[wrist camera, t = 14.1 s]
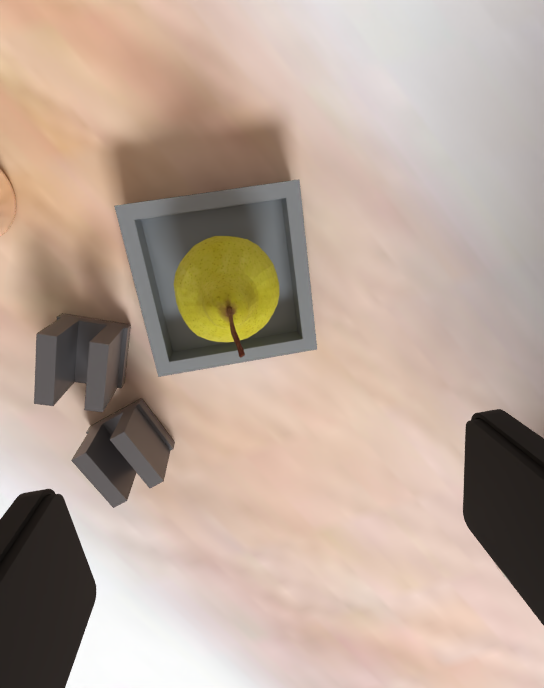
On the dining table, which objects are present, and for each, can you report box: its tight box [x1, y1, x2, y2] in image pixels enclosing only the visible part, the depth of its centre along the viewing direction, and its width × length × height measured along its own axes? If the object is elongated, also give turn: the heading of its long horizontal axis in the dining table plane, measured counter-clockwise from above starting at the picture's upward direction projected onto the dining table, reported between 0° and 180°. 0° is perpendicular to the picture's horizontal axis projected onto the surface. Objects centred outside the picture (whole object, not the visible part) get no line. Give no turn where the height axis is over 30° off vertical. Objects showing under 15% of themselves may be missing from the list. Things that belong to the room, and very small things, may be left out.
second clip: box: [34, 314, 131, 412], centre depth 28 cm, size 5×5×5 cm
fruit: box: [174, 236, 280, 358], centre depth 24 cm, size 7×7×12 cm
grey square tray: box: [115, 180, 317, 377], centre depth 28 cm, size 12×12×3 cm
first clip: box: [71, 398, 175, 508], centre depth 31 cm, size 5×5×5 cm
